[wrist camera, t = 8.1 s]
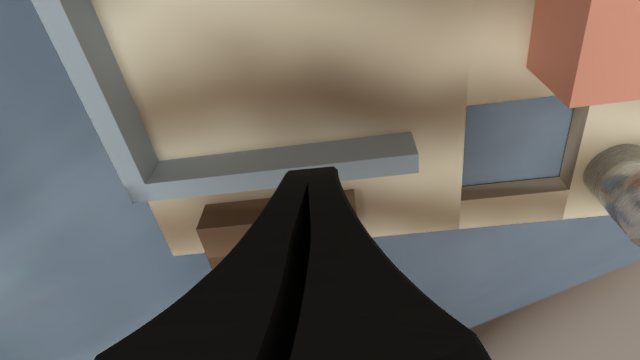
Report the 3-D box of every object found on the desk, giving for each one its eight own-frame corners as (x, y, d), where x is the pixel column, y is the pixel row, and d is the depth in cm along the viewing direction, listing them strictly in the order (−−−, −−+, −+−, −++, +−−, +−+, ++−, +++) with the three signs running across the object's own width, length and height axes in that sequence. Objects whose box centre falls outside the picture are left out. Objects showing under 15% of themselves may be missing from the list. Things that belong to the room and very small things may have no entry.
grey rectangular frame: (411, 149, 21) (418, 172, 19) (147, 179, 22) (132, 203, 20) (405, -126, 15) (416, -126, 13) (36, -63, 16) (3, -56, 14)
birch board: (627, 198, 24) (640, 212, 23) (179, 241, 26) (173, 255, 25) (766, -207, 14) (798, -213, 13) (35, -79, 17) (16, -77, 16)
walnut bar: (360, 244, 25) (363, 270, 23) (225, 257, 25) (218, 283, 24) (353, 189, 22) (356, 213, 21) (205, 204, 23) (195, 229, 21)
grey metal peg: (638, 190, 22) (692, 245, 19) (577, 196, 22) (620, 251, 19) (656, 140, 20) (719, 190, 17) (590, 147, 21) (639, 198, 17)
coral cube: (624, 54, 18) (690, 93, 15) (526, 67, 18) (568, 108, 15) (653, -52, 16) (738, -34, 12) (540, -35, 16) (594, -13, 13)
